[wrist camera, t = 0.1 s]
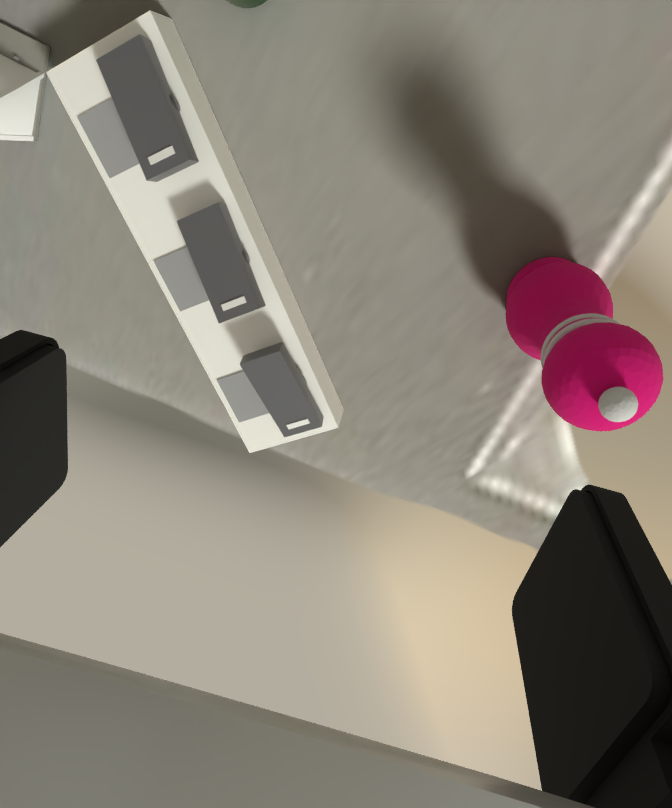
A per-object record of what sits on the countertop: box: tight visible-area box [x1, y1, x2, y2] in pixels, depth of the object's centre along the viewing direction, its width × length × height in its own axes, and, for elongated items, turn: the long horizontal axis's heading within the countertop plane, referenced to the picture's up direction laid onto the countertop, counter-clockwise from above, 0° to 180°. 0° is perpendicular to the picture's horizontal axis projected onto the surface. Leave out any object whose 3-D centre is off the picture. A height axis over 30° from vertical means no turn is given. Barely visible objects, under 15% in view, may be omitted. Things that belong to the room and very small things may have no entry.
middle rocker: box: [177, 202, 266, 323], centre depth 42 cm, size 8×4×2 cm, turn 22°
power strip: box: [46, 10, 344, 453], centre depth 45 cm, size 33×9×4 cm, turn 22°
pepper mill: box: [506, 257, 663, 431], centre depth 35 cm, size 7×7×20 cm
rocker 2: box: [240, 342, 324, 438], centre depth 46 cm, size 8×4×2 cm, turn 23°
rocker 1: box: [96, 34, 199, 182], centre depth 38 cm, size 8×4×2 cm, turn 22°
